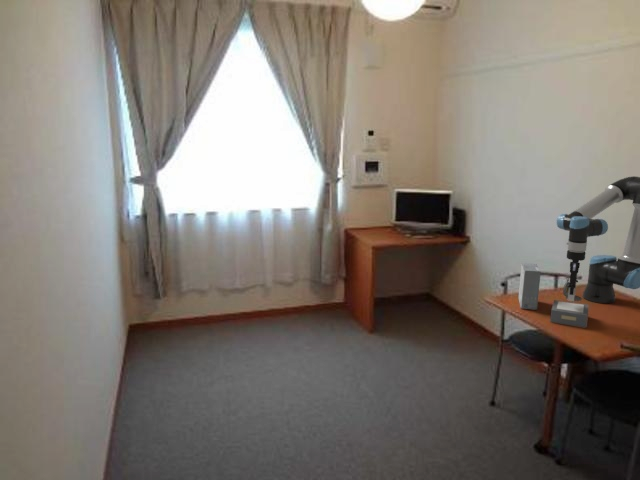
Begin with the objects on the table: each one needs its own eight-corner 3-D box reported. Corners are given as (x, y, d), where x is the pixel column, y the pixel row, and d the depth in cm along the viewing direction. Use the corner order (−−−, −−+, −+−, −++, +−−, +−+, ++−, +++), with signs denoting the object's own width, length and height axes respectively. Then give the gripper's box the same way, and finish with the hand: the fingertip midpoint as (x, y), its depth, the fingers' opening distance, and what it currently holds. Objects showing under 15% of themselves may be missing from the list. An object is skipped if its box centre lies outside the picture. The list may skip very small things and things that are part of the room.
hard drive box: (537, 310, 249) (541, 271, 244) (520, 309, 251) (524, 270, 246) (533, 300, 263) (536, 263, 259) (517, 298, 265) (520, 262, 261)
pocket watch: (583, 302, 230) (586, 281, 228) (563, 301, 232) (566, 280, 229) (578, 296, 238) (580, 276, 236) (559, 295, 239) (561, 275, 237)
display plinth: (587, 316, 240) (588, 304, 238) (586, 328, 227) (587, 314, 225) (552, 311, 247) (554, 299, 246) (550, 322, 234) (551, 309, 233)
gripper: (568, 245, 240) (563, 290, 245) (565, 254, 223) (560, 303, 228) (586, 246, 236) (581, 293, 242) (584, 256, 219) (579, 306, 224)
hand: (571, 298), depth 235 cm, fingers closed on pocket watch, 7 cm apart
